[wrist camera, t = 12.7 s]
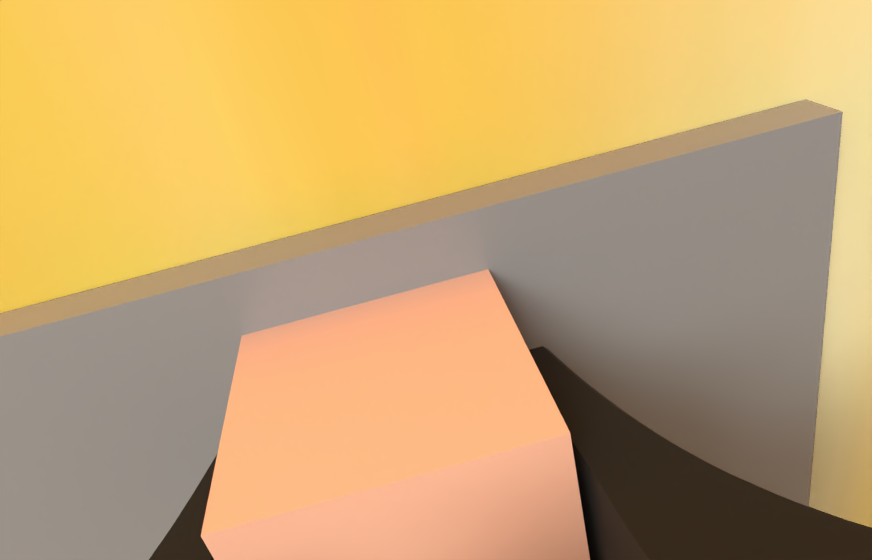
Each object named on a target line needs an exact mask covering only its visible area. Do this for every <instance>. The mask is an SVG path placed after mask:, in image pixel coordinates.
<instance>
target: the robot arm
mask: <svg viewBox="0 0 872 560" xmlns="http://www.w3.org/2000/svg"><path fill="white" fill-rule="evenodd" d="M529 351H530V353H531V355H532V357H533V359H534V361H535V363H536V365H537V367H538V369H539V371H540V373H541V375H542V377H543V379H544V381H545V383H546V385H547V387H548V389H549V391H550V393H551V395H552V397H553V399H554V401H555V403H556V405H557V407H558V409H559V411H560V413H561V415H562V417H563V419H564V421H565V423H566V425H567V427H568V429H569V431H570V434H571V441H572V447H573V454H574V460H575V466H576V473H577V479H578V486H579V492H580V498H581V505H582V511H583V518H584V524H585V530H586V537H587V543H588V549H589V556H590V560H872V528H870V527H867V526H864V525H860V524H857V523H854V522H851V521H847V520H844V519H841V518H838V517H835V516H833V515H830V514H827V513H825V512H822V511H819V510H816V509H814V508H811V507H808V506H805V505H803V504H800V503H797V502H794V501H792V500H790V499H787V498H785V497H782V496H780V495H777V494H775V493H772V492H770V491H768V490H766V489H763V488H761V487H759V486H757V485H754V484H752V483H750V482H748V481H745V480H743V479H741V478H738V477H736V476H734V475H732V474H729V473H727V472H725V471H723V470H721V469H719V468H718V467H716V466H714V465H712V464H710V463H708V462H706V461H704V460H702V459H700V458H698V457H697V456H695V455H693V454H691V453H689V452H687V451H686V450H684V449H682V448H680V447H679V446H677V445H675V444H674V443H672V442H670V441H669V440H667V439H665V438H664V437H662V436H661V435H659V434H657V433H656V432H654V431H653V430H651V429H650V428H648V427H647V426H645V425H644V424H642V423H640V422H639V421H637V420H636V419H635V418H633V417H632V416H630V415H629V414H627V413H626V412H624V411H623V410H622V409H620V408H619V407H618V406H616V405H615V404H614V403H612V402H611V401H610V400H608V399H607V398H606V397H604V396H603V395H602V394H600V393H599V392H598V391H596V390H595V389H594V388H592V387H591V386H590V385H589V384H587V383H586V382H585V381H584V380H583V379H581V378H580V377H579V376H578V375H577V374H575V373H574V372H573V371H572V370H571V369H570V368H568V367H567V366H566V365H565V364H564V363H563V362H562V361H561V360H559V359H558V358H557V357H556V356H555V355H554V354H553V353H552V352H551V351H550V350H549V349H547V348H545V347H543V346H541V347H537V348H534V349H530V350H529ZM217 454H218V453H217ZM216 458H217V455H216V457H215V458H214V460H213V462H212V463H211V465H210V466H209V468H208V470H207V471H206V473H205V475H204V476H203V478H202V480H201V481H200V483H199V485H198V486H197V488H196V489H195V491H194V493H193V494H192V496H191V497H190V499H189V501H188V502H187V504H186V505H185V507H184V508H183V510H182V512H181V513H180V515H179V516H178V518H177V519H176V521H175V523H174V524H173V526H172V527H171V529H170V530H169V531H168V533H167V534H166V536H165V537H164V539H163V540H162V541H161V543H160V544H159V546H158V547H157V549H156V550H155V551H154V553H153V554H152V556H151V557H150V559H149V560H214V558H213V556H212V555H211V553H210V551H209V550H208V548H207V546H206V544H205V543H204V541H203V539H202V538H201V532H202V527H203V522H204V517H205V512H206V507H207V502H208V498H209V493H210V488H211V483H212V478H213V473H214V468H215V463H216Z"/></svg>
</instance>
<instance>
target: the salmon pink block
mask: <svg viewBox="0 0 872 560" xmlns="http://www.w3.org/2000/svg"><path fill="white" fill-rule="evenodd" d="M201 538H202V539H203V541H204V543H205V544H206V546H207V548H208V550H209V551H210V553H211V555H212V556H213V558H214V560H590V556H589V549H588V543H587V537H586V530H585V524H584V518H583V511H582V505H581V498H580V492H579V486H578V479H577V473H576V466H575V460H574V454H573V447H572V441H571V434H570V431H569V429H568V427H567V425H566V423H565V421H564V419H563V417H562V415H561V413H560V411H559V409H558V407H557V405H556V403H555V401H554V399H553V397H552V395H551V393H550V391H549V389H548V387H547V385H546V383H545V381H544V379H543V377H542V375H541V373H540V371H539V369H538V367H537V365H536V363H535V361H534V359H533V357H532V355H531V353H530V351H529V349H528V347H527V346H526V344H525V342H524V340H523V338H522V336H521V334H520V332H519V330H518V328H517V326H516V324H515V322H514V320H513V318H512V316H511V314H510V312H509V310H508V308H507V306H506V304H505V302H504V300H503V298H502V296H501V294H500V292H499V290H498V288H497V286H496V284H495V282H494V280H493V278H492V276H491V274H490V272H489V270H488V269H487V270H483V271H480V272H476V273H472V274H468V275H465V276H461V277H457V278H454V279H450V280H446V281H443V282H439V283H435V284H431V285H428V286H424V287H420V288H417V289H413V290H409V291H405V292H402V293H398V294H394V295H391V296H387V297H383V298H380V299H376V300H372V301H368V302H365V303H361V304H357V305H354V306H350V307H346V308H343V309H339V310H335V311H331V312H328V313H324V314H320V315H317V316H313V317H309V318H305V319H302V320H298V321H294V322H291V323H287V324H283V325H280V326H276V327H272V328H268V329H265V330H261V331H257V332H254V333H250V334H246V335H242V336H241V341H240V346H239V351H238V356H237V361H236V366H235V371H234V375H233V380H232V385H231V390H230V395H229V400H228V405H227V410H226V415H225V419H224V424H223V429H222V434H221V439H220V444H219V449H218V454H217V458H216V463H215V468H214V473H213V478H212V483H211V488H210V493H209V498H208V502H207V507H206V512H205V517H204V522H203V527H202V532H201Z"/></svg>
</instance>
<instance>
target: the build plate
mask: <svg viewBox="0 0 872 560" xmlns="http://www.w3.org/2000/svg"><path fill="white" fill-rule="evenodd" d="M842 113H843V112H842V111H839V110H836V109H833V108H830V107H827V106H824V105H821V104H818V103H815V102H812V101H809V100H802V101H799V102H795V103H791V104H787V105H784V106H780V107H776V108H772V109H768V110H765V111H761V112H757V113H753V114H750V115H746V116H742V117H738V118H735V119H731V120H727V121H723V122H720V123H716V124H712V125H708V126H704V127H701V128H697V129H693V130H689V131H686V132H682V133H678V134H674V135H671V136H667V137H663V138H659V139H656V140H652V141H648V142H644V143H641V144H637V145H633V146H629V147H625V148H622V149H618V150H614V151H610V152H607V153H603V154H599V155H595V156H592V157H588V158H584V159H580V160H577V161H573V162H569V163H565V164H561V165H558V166H554V167H550V168H546V169H543V170H539V171H535V172H531V173H528V174H524V175H520V176H516V177H513V178H509V179H505V180H501V181H497V182H494V183H490V184H486V185H482V186H479V187H475V188H471V189H467V190H464V191H460V192H456V193H452V194H449V195H445V196H441V197H437V198H433V199H430V200H426V201H422V202H418V203H415V204H411V205H407V206H403V207H400V208H396V209H392V210H388V211H385V212H381V213H377V214H373V215H370V216H366V217H362V218H358V219H354V220H351V221H347V222H343V223H339V224H336V225H332V226H328V227H324V228H321V229H317V230H313V231H309V232H306V233H302V234H298V235H294V236H290V237H287V238H283V239H279V240H275V241H272V242H268V243H264V244H260V245H257V246H253V247H249V248H245V249H242V250H238V251H234V252H230V253H226V254H223V255H219V256H215V257H211V258H208V259H204V260H200V261H196V262H193V263H189V264H185V265H181V266H178V267H174V268H170V269H166V270H162V271H159V272H155V273H151V274H147V275H144V276H140V277H136V278H132V279H129V280H125V281H121V282H117V283H114V284H110V285H106V286H102V287H99V288H95V289H91V290H87V291H83V292H80V293H76V294H72V295H68V296H65V297H61V298H57V299H53V300H50V301H46V302H42V303H38V304H35V305H31V306H27V307H23V308H19V309H16V310H12V311H8V312H4V313H1V314H0V560H149V559H150V557H151V556H152V554H153V553H154V551H155V550H156V549H157V547H158V546H159V544H160V543H161V541H162V540H163V539H164V537H165V536H166V534H167V533H168V531H169V530H170V529H171V527H172V526H173V524H174V523H175V521H176V519H177V518H178V516H179V515H180V513H181V512H182V510H183V508H184V507H185V505H186V504H187V502H188V501H189V499H190V497H191V496H192V494H193V493H194V491H195V489H196V488H197V486H198V485H199V483H200V481H201V480H202V478H203V476H204V475H205V473H206V471H207V470H208V468H209V466H210V465H211V463H212V462H213V460H214V458H215V457H216V455H217V453H218V449H219V444H220V439H221V434H222V429H223V424H224V419H225V415H226V410H227V405H228V400H229V395H230V390H231V385H232V380H233V375H234V371H235V366H236V361H237V356H238V351H239V346H240V341H241V336H242V335H246V334H250V333H254V332H257V331H261V330H265V329H268V328H272V327H276V326H280V325H283V324H287V323H291V322H294V321H298V320H302V319H305V318H309V317H313V316H317V315H320V314H324V313H328V312H331V311H335V310H339V309H343V308H346V307H350V306H354V305H357V304H361V303H365V302H368V301H372V300H376V299H380V298H383V297H387V296H391V295H394V294H398V293H402V292H405V291H409V290H413V289H417V288H420V287H424V286H428V285H431V284H435V283H439V282H443V281H446V280H450V279H454V278H457V277H461V276H465V275H468V274H472V273H476V272H480V271H483V270H487V269H488V270H489V272H490V274H491V276H492V278H493V280H494V282H495V284H496V286H497V288H498V290H499V292H500V294H501V296H502V298H503V300H504V302H505V304H506V306H507V308H508V310H509V312H510V314H511V316H512V318H513V320H514V322H515V324H516V326H517V328H518V330H519V332H520V334H521V336H522V338H523V340H524V342H525V344H526V346H527V347H528V349H529V350H530V349H534V348H537V347H541V346H543V347H545V348H547V349H549V350H550V351H551V352H552V353H553V354H554V355H555V356H556V357H557V358H558V359H559V360H561V361H562V362H563V363H564V364H565V365H566V366H567V367H568V368H570V369H571V370H572V371H573V372H574V373H575V374H577V375H578V376H579V377H580V378H581V379H583V380H584V381H585V382H586V383H587V384H589V385H590V386H591V387H592V388H594V389H595V390H596V391H598V392H599V393H600V394H602V395H603V396H604V397H606V398H607V399H608V400H610V401H611V402H612V403H614V404H615V405H616V406H618V407H619V408H620V409H622V410H623V411H624V412H626V413H627V414H629V415H630V416H632V417H633V418H635V419H636V420H637V421H639V422H640V423H642V424H644V425H645V426H647V427H648V428H650V429H651V430H653V431H654V432H656V433H657V434H659V435H661V436H662V437H664V438H665V439H667V440H669V441H670V442H672V443H674V444H675V445H677V446H679V447H680V448H682V449H684V450H686V451H687V452H689V453H691V454H693V455H695V456H697V457H698V458H700V459H702V460H704V461H706V462H708V463H710V464H712V465H714V466H716V467H718V468H719V469H721V470H723V471H725V472H727V473H729V474H732V475H734V476H736V477H738V478H741V479H743V480H745V481H748V482H750V483H752V484H754V485H757V486H759V487H761V488H763V489H766V490H768V491H770V492H772V493H775V494H777V495H780V496H782V497H785V498H787V499H790V500H792V501H794V502H797V503H800V504H803V505H805V506H808V507H809V496H810V484H811V472H812V461H813V449H814V438H815V426H816V414H817V403H818V391H819V380H820V368H821V356H822V345H823V333H824V321H825V310H826V298H827V287H828V275H829V263H830V252H831V240H832V229H833V217H834V205H835V194H836V182H837V171H838V159H839V147H840V136H841V124H842Z"/></svg>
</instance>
